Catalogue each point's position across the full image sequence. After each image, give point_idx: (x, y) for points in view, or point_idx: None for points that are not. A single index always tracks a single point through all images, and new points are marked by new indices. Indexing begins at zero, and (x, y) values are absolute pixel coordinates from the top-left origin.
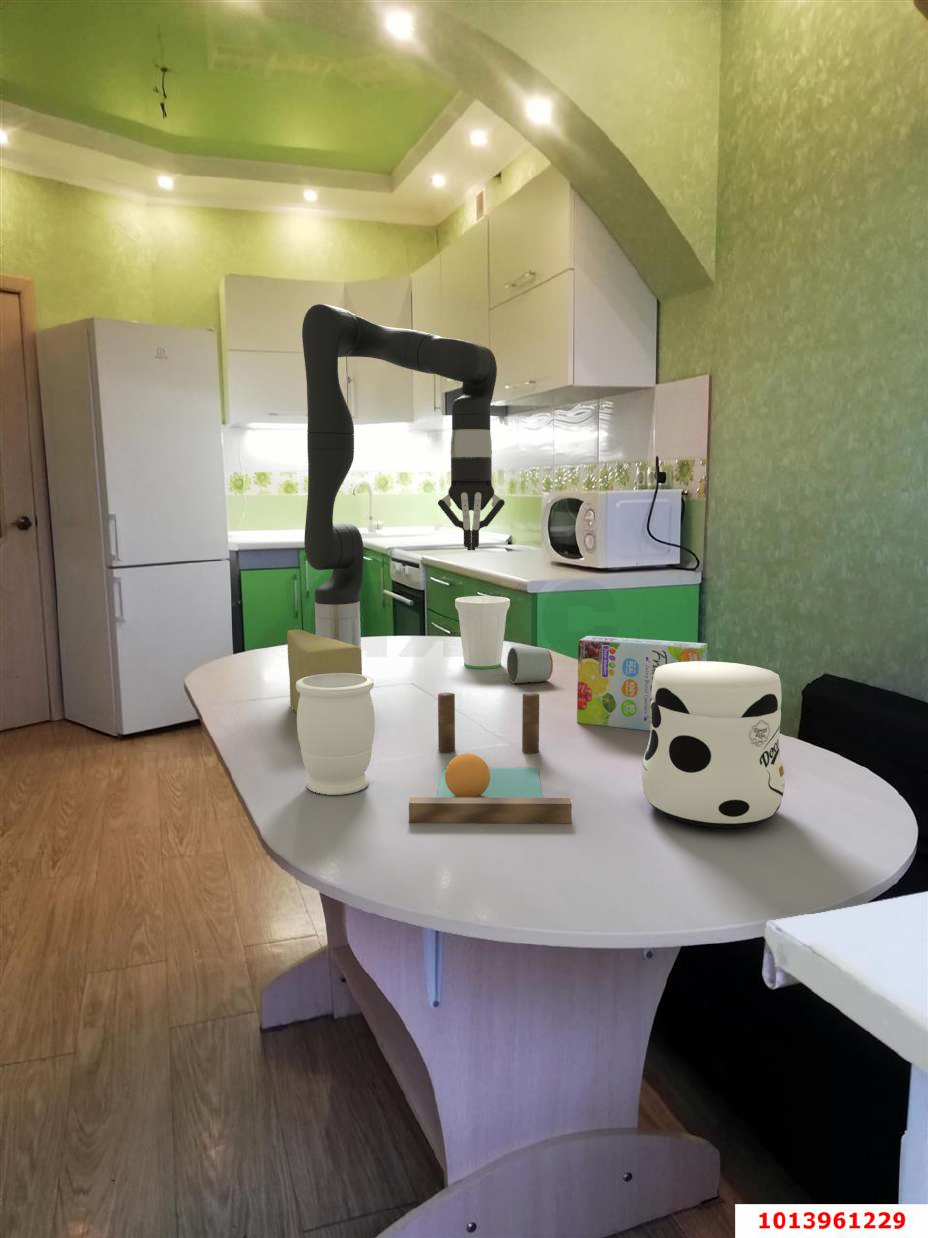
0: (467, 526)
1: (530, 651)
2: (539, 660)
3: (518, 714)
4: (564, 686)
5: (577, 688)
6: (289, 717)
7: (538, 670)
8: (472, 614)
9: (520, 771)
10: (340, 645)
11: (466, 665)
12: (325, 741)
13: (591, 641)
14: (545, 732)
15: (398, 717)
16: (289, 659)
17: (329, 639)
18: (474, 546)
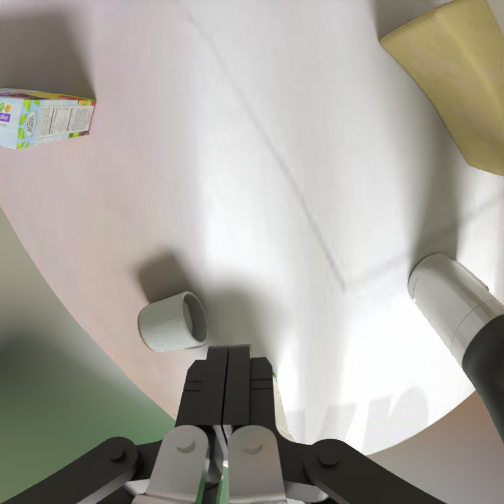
0: (246, 443)
1: (163, 326)
2: (152, 313)
3: (171, 125)
4: (129, 287)
5: (72, 100)
6: None
7: (157, 302)
8: None
9: None
10: (464, 19)
11: (273, 375)
12: None
13: (12, 96)
14: (133, 49)
15: (345, 96)
16: None
17: (493, 80)
18: (210, 354)
